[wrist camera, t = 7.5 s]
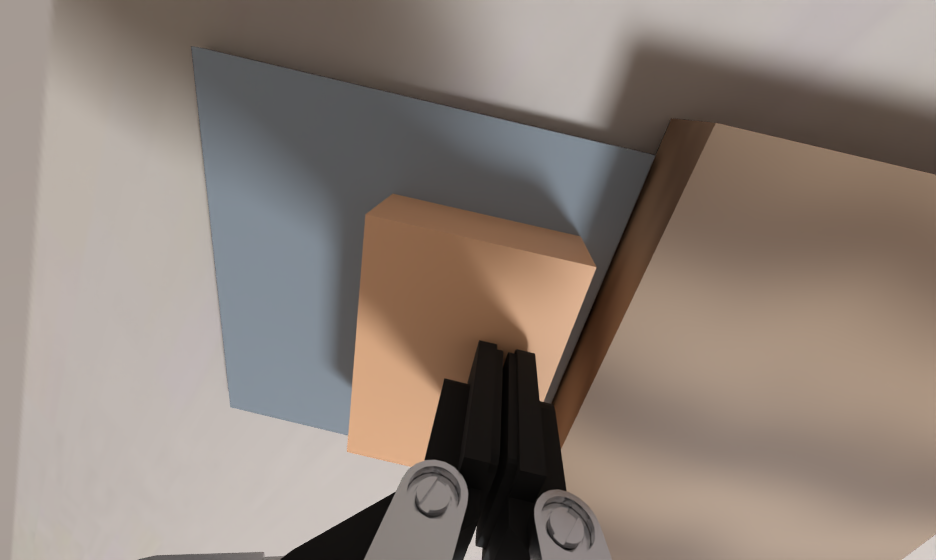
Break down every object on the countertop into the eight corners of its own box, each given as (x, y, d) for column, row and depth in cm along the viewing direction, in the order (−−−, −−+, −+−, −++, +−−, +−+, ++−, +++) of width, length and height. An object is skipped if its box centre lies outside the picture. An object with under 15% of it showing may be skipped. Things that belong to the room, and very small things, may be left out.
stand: (671, 118, 10) (715, 122, 8) (1129, 226, 10) (1303, 261, 8) (518, 481, 17) (519, 538, 15) (788, 546, 17) (829, 612, 15)
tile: (392, 193, 12) (365, 214, 9) (580, 236, 11) (596, 267, 9) (369, 403, 16) (346, 451, 13) (509, 435, 15) (509, 489, 13)
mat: (204, 48, 11) (191, 46, 10) (648, 153, 11) (655, 155, 10) (237, 399, 17) (230, 406, 17) (519, 466, 17) (520, 476, 16)
